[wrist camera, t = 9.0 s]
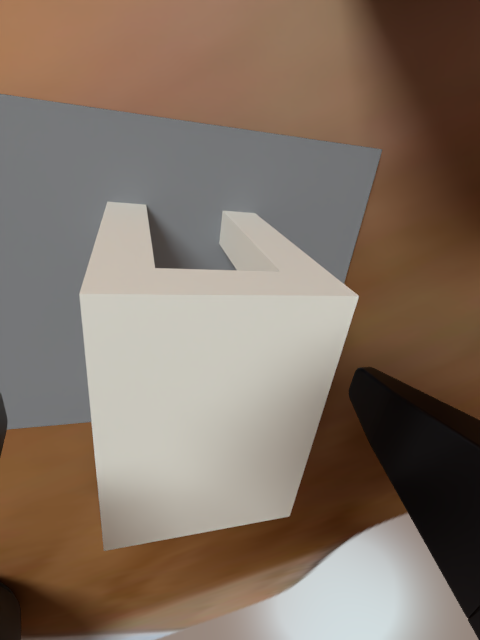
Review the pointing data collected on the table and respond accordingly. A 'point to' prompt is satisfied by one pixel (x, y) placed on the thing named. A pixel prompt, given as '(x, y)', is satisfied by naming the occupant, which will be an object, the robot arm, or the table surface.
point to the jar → (9, 615)
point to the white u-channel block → (204, 376)
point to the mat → (163, 215)
